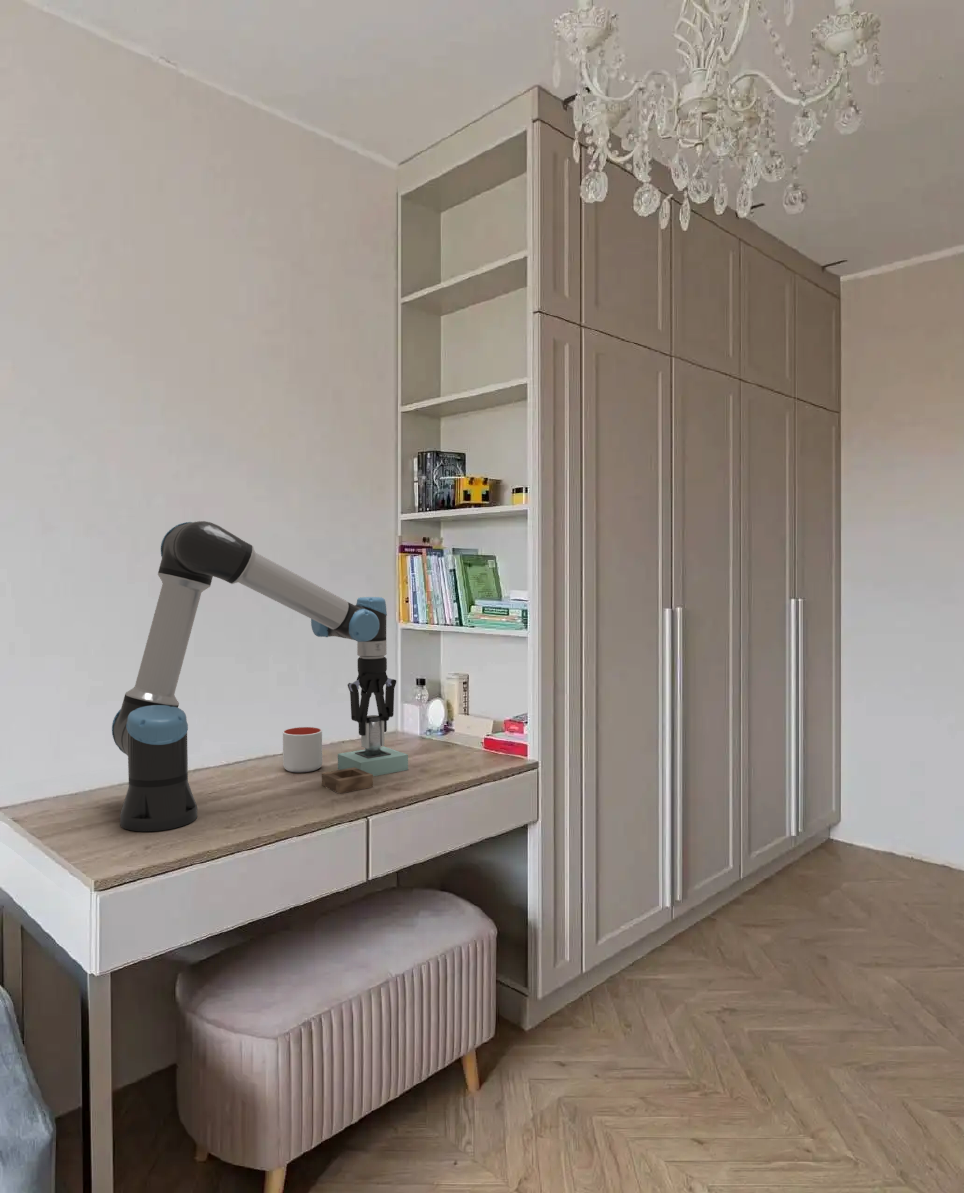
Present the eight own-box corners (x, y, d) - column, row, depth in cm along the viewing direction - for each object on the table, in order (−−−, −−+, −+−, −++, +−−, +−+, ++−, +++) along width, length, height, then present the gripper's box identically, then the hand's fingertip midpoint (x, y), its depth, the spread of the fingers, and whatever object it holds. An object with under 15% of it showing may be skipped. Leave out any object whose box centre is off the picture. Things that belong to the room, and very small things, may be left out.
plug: (370, 765, 216) (370, 718, 215) (362, 762, 219) (362, 716, 218) (383, 762, 218) (383, 716, 218) (375, 759, 221) (375, 714, 221)
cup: (327, 764, 224) (326, 727, 224) (315, 774, 214) (315, 735, 214) (290, 763, 225) (290, 726, 225) (277, 773, 215) (277, 734, 215)
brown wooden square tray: (339, 793, 197) (339, 780, 196) (321, 785, 204) (321, 773, 204) (373, 787, 202) (372, 774, 202) (354, 779, 209) (354, 767, 209)
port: (360, 778, 210) (360, 761, 209) (337, 768, 219) (337, 752, 219) (408, 769, 218) (408, 753, 218) (384, 760, 228) (383, 745, 228)
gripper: (350, 660, 209) (351, 753, 210) (407, 655, 219) (408, 744, 221) (335, 657, 215) (336, 748, 216) (392, 652, 225) (393, 739, 227)
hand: (372, 746), depth 218 cm, fingers closed on plug, 4 cm apart
